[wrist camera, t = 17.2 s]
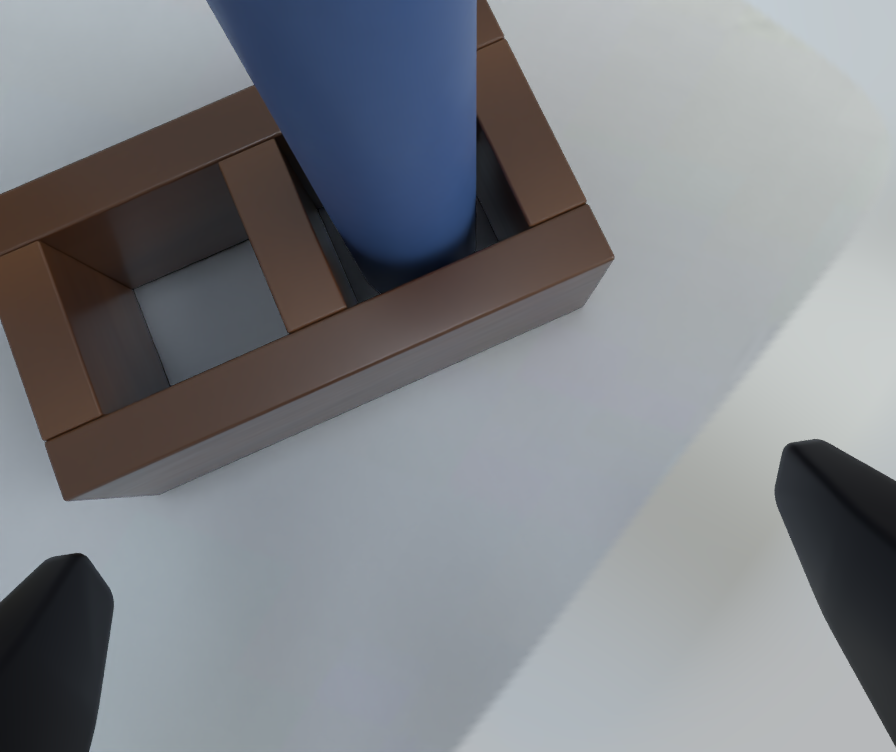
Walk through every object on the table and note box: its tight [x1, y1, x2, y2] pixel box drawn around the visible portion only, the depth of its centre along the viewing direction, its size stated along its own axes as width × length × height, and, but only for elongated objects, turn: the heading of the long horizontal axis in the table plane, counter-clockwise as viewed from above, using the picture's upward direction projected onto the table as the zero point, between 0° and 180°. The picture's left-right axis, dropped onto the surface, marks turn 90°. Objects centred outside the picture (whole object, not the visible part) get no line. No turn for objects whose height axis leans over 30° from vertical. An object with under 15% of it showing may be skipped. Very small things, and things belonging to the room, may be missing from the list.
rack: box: [0, 0, 614, 501], centre depth 16 cm, size 7×12×4 cm, turn 114°
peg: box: [206, 0, 477, 294], centre depth 11 cm, size 3×3×14 cm
